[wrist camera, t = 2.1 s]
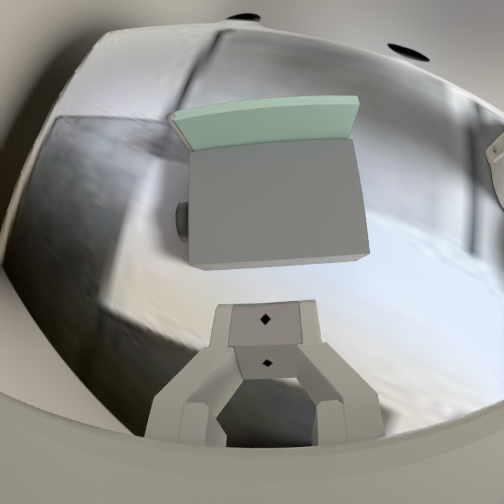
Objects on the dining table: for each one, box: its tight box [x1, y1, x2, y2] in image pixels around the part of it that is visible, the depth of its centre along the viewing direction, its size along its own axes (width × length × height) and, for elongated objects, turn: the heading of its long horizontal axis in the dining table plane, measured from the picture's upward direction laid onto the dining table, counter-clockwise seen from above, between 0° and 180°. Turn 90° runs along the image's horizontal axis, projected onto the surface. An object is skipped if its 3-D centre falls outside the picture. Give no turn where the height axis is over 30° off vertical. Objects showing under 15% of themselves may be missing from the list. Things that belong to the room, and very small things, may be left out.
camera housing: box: [176, 139, 370, 270], centre depth 36 cm, size 22×14×7 cm, turn 93°
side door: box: [166, 95, 360, 153], centre depth 34 cm, size 20×2×14 cm, turn 93°
